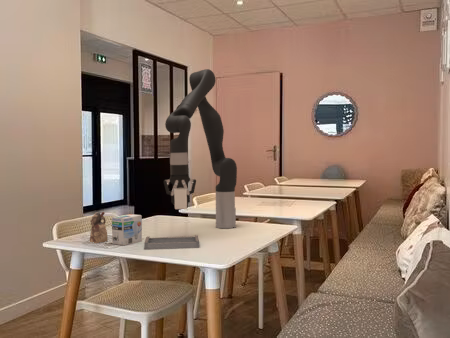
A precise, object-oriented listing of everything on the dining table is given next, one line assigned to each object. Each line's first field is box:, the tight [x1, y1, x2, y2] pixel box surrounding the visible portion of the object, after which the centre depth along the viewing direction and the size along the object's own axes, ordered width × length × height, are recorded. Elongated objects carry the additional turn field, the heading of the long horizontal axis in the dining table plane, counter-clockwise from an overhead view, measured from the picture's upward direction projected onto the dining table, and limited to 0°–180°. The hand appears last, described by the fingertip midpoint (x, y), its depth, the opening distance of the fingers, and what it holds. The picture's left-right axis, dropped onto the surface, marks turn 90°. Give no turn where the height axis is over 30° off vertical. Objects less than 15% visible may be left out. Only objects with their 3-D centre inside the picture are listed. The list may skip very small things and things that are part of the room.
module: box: [174, 188, 188, 210], centre depth 182 cm, size 5×8×8 cm, turn 7°
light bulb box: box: [111, 213, 143, 246], centre depth 174 cm, size 11×7×11 cm, turn 148°
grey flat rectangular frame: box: [143, 234, 200, 250], centre depth 168 cm, size 20×12×2 cm, turn 96°
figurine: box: [89, 211, 108, 244], centre depth 177 cm, size 7×7×12 cm
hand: (180, 203), depth 182 cm, fingers closed on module, 5 cm apart
